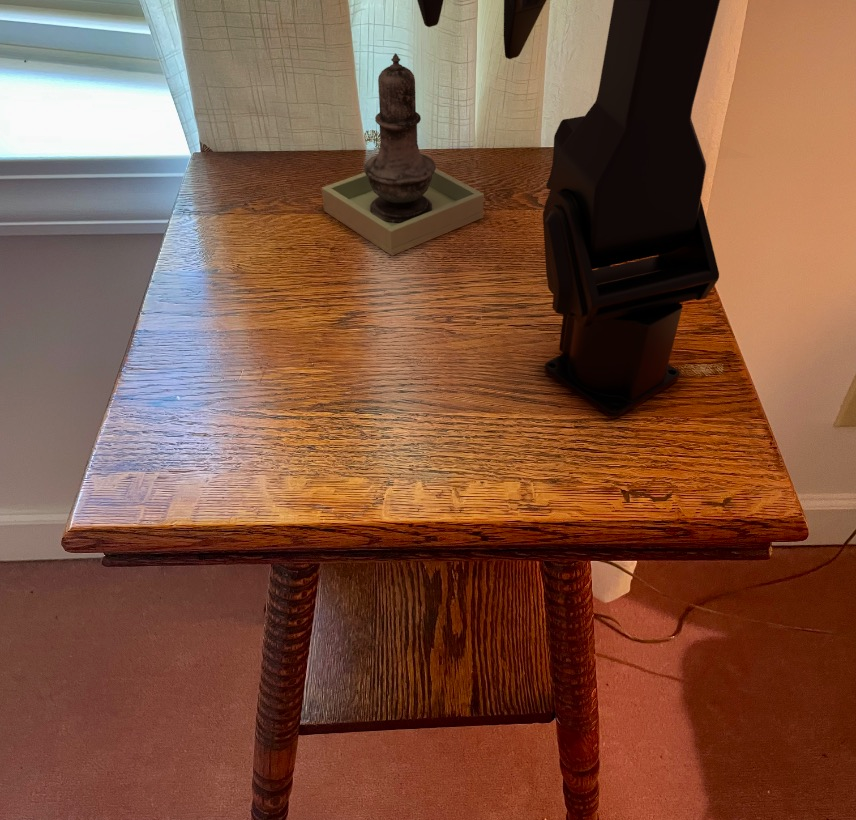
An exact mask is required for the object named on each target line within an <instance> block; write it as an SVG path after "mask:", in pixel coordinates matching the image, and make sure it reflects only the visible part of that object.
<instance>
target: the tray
mask: <svg viewBox="0 0 856 820" xmlns="http://www.w3.org/2000/svg"><path fill="white" fill-rule="evenodd" d="M321 195H322V203H323V212H325V213H327V214H328V215H329V216H331V217H332V218H333V219H335V220H337V221H338V222H340V223H341V224H343V225H344V226H346V227H348V228H349V229H350V230H352V231H354V232H355V233H357V234H358V235H359V236H361V237H362V238H364V239H366V240H367V241H369V242H370V243H372V244H373V245H375V246H376V247H378V248H379V249H382V250H383V251H384V252H386V253H387V254H389V255H390V256H395V255H398V254H400V253H402V252H404V251H407V250H410V249H411V248H413V247H417V246H419V245H421V244H424V243H426V242H428V241H430V240H433V239H436V238H438V237H440V236H443V235H445V234H447V233H450V232H452V231H454V230H457V229H459V228H461V227H465V226H467V225H469V224H471V223H473V222H477V221H479V220H481V219H483V218H484V205H485V202H484V201H485V194H484V193H482V192H481V191H479V190H478V189H476V188H473V187H472V186H471V185H468V184H466V183H465V182H463V181H461V180H458V179H457V178H455V177H454V176H451V175H450V174H447V173H446V172H445V171H442V170H440V169H438V168H436V169H435V171H434V173H433V174H432V180H431V182H430V185H429V187H428V190H427V191H426V192H425V193H424V194H423V195H422V196H425V197H426V198H427V199H429V200H430V202H431V203H432V211H430V212H427V213H425V214H422V215H420V216H417V217H415V218H412V219H410V220H407V221H405V222H402V223H389V222H385V221H383V220H381V219H380V218H378V217H376V216H375V215H373V214H372V213H371V212H370V205H371V203H372V202H373V201H374V200H375V199H376V198H378V197H379V196H378V195H377V194H376V193H375V192H374V191H373V189H372V187H371V185H370V183H369V179H368V176H367V175H366V174H365V172H364V171H363V172H362V173H359V174H356V175H353V176H350V177H347V178H345V179H342V180H340V181H337V182H334V183H330V184H328V185H325V186H322V187H321Z"/></svg>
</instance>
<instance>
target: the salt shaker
mask: <svg viewBox="0 0 856 820" xmlns="http://www.w3.org/2000/svg"><path fill="white" fill-rule="evenodd" d="M391 62H392V64H390V65H389V66H387V67H385V68H384V69H382V70H381V71H380V73H379V75H378V79H377V84H378V103H379V112H378V113H377V114H376V115H375V117H374V120H375V123H376V124H377V125H378V126H379V142H380V144H379V151H378V153H377V154H375V155H373V156H371V157H370V158H369V159H367V160H366V162H365V163H364V165H363V173H364V172H365V174H366V175H367V176H368V179H369V183H370V185H371V187H372V189H373V191H374V192H375V193H376V194H377V195H378V196H379V197H378V198H376V199H375V200H374V201H373V202H372V203H371V205H370V212H371V213H372V214H373V215H375V216H376V217H378V218H380V219H381V220H383V221H385V222H389V223H402V222H405V221H407V220H410V219H412V218H415V217H417V216H420V215H422V214H425V213H427V212H430V211H432V203H431V202H430V200H429V199H427V198H426V197H425V196H422V195H423V194H424V193H425V192H426V191H427V190H428V187H429V185H430V182H431V180H432V174H433V173H434V171H435V169H437V167H436V163H435V161H434V160H433V158H432V157H430V156H428V155H426V154H424V153H421V151H420V148H419V144H418V124H419V123H420V122H421V120H422V117H421V115H420V113H419V112H417V109H416V108H417V107H416V104H417V103H416V77H415V74H414V72H412V70H410V69H409V68H408V67H406V66H403V65H402V64H400V62H401V58H400V57H399V55H398V54H397V53H394V54H393V56H392V58H391Z"/></svg>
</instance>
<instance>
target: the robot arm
mask: <svg viewBox="0 0 856 820" xmlns="http://www.w3.org/2000/svg"><path fill="white" fill-rule="evenodd" d="M547 1H548V0H503V47H504V49H503V50H504V56H505V58H506V59H508V60H512V59H515V58H518V57H519V56H520V55H521V53H522V51H523V49H524V47H525V44H526V43H527V41H528V39H529V37H530V35H531V33H532V31H533V28H534V26H535V24H536V22H537V20H538V19H539V17H540V15H541V12H542V10H543V9H544V7H545V5H546V3H547ZM416 2H417V5H418V8H419V12H420V15H421V18H422V22H423V24H424V26H425V27H427V28H431V27H435V26H437V25H438V24H439V22H440V17H441V13H442V9H443V4H444V0H416ZM720 3H721V0H613V2H612V9H611V14H610V20H609V26H608V27H609V28H608V32H607V37H606V45H605V51H604V55H603V62H602V68H601V74H600V79H599V85H598V92H597V95H596V98H595V101H594V103H593V104H592V106H591V107H590V109H589V110H588V111H587V112H586V114H585V115H581V116H576V117H570V118H564V119H562V120H561V121H560V123H559V124H558V127H557V129H556V131H555V134H554V136H553V150H552V151H553V152H552V153H553V154H552V164H551V168H550V173H549V176H548V178H547V182H546V185H545V186H546V190H548V191H549V194H548V196H547V198H546V200H545V203H544V207H543V211H542V224H543V225H542V226H543V242H544V243H543V245H544V257H545V259H544V260H545V277H546V280H547V288H548V290H549V292H550V293H551V294H552V295H553V297H552V304H551V305H552V306H551V308H552V310H553V311H554V312H555V313H556V314H559V315H562V322H561V327H560V337H559V344H558V350H559V352H560V353H561V354H559V355H557V356H556V357H553V358H551V359H550V360H548V361H546V363H545V364H544V368H543V369H544V370H543V371H544V373H545V374H546V375H548V376H550V377H551V378H552V379H554V380H555V381H557V382H559V383H560V384H562V385H563V386H564V387H566V388H567V389H569V390H570V391H572V392H573V393H575V394H576V395H578V396H579V397H581V398H582V399H584V400H585V401H587V402H588V403H590V404H591V405H593V406H594V407H595V408H597V409H599V410H600V411H602V412H603V413H605V414H606V415H608V416H609V417H612V418H617V417H619V416H622V415H623V414H625V413H626V412H628V411H630V410H631V409H633V408H635V407H637V406H638V405H640V404H641V403H643V402H644V401H646V400H648V399H650V398H651V397H653V396H654V395H656V394H658V393H660V392H661V391H663V390H664V389H666V388H667V387H669V386H671V385H673V384H674V383H676V382H677V381H678V380H679V378H680V375H681V373H680V370H678V369H677V368H676V367H674V366H673V365H671V364H670V360H671V355H672V351H673V347H674V344H675V338H676V335H677V331H678V328H679V322H680V319H681V315H682V311H683V304H682V303H685V302H691V301H694V300H696V301H700V300H705V299H707V298H708V296H709V295H710V293H711V292H712V290H713V289H714V287H715V286H716V284H717V282H718V281H719V280H720V279H719V278H720V271H719V268H718V267H719V266H718V264H717V263H718V262H717V259H716V255H715V251H714V247H713V243H712V239H711V234H710V230H709V227H708V222H707V218H706V215H705V214H706V213H705V210H704V205H703V202H702V194H703V188H704V183H705V177H706V171H707V161H706V159H705V156H704V153H703V150H702V146H701V144H700V141H699V138H698V135H697V132H696V129H695V125H694V123H693V120H692V115H693V107H694V103H695V100H696V96H697V95H696V94H697V91H698V88H699V84H700V81H701V77H702V72H703V69H704V65H705V60H706V57H707V54H708V49H709V45H710V41H711V39H712V38H711V37H712V33H713V29H714V26H715V23H716V19H717V14H718V10H719V6H720Z"/></svg>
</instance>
